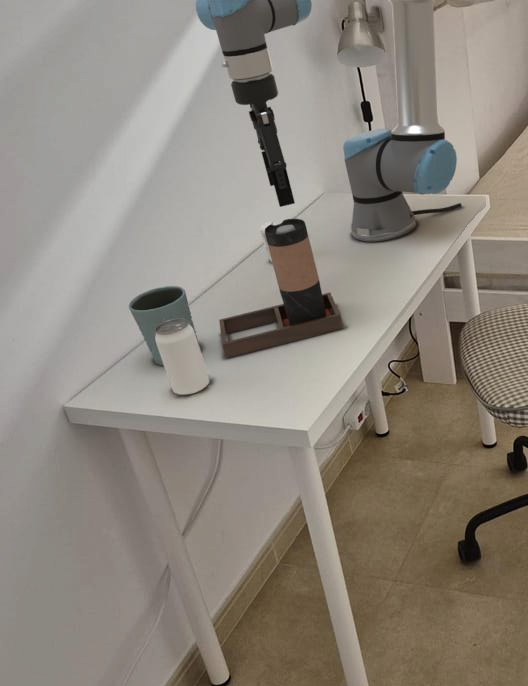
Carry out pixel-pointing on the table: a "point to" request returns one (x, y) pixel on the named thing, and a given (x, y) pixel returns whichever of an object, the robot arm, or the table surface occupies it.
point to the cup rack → (276, 335)
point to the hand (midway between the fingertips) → (282, 194)
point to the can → (181, 356)
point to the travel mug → (295, 271)
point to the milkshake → (262, 230)
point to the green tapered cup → (159, 313)
